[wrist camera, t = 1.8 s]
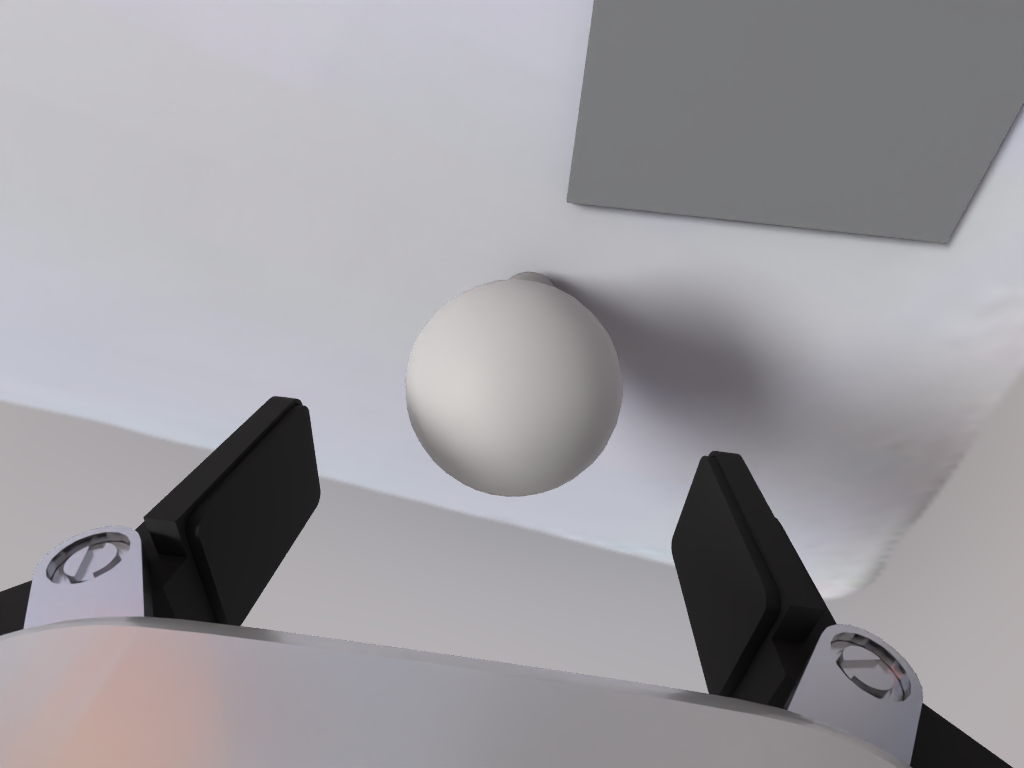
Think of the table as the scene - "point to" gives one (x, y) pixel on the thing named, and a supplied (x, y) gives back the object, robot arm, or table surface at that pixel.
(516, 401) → the lightbulb
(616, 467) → the table surface
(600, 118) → the mat
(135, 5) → the table surface
